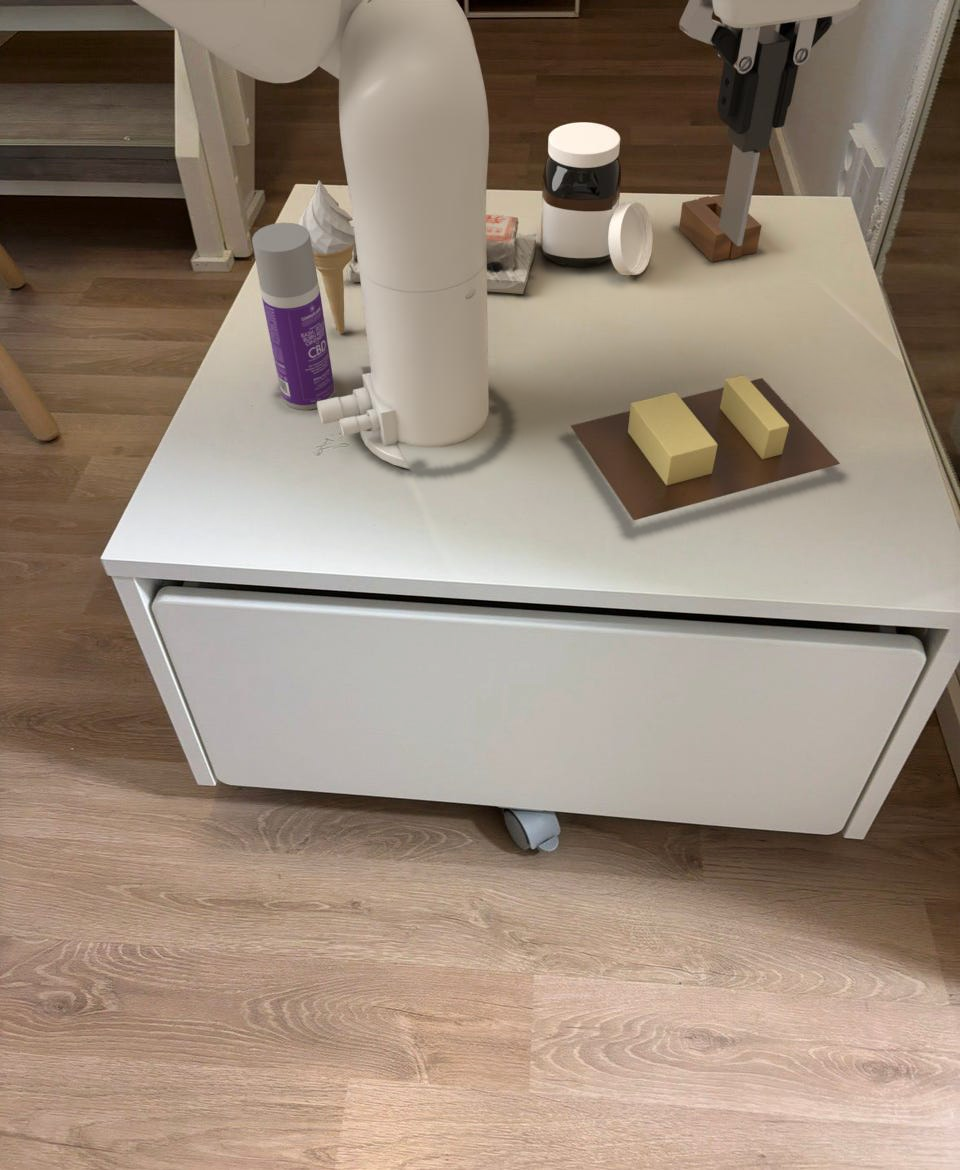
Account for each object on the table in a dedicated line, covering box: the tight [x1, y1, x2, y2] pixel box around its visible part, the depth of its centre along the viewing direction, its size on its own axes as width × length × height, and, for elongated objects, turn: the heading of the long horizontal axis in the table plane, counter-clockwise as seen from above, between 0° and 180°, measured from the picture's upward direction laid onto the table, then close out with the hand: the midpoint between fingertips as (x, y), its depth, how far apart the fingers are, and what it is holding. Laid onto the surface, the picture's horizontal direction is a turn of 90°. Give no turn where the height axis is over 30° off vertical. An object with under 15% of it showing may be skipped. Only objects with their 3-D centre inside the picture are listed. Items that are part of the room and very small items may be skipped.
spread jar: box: [540, 121, 654, 276], centre depth 101 cm, size 12×11×12 cm
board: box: [570, 377, 841, 521], centre depth 83 cm, size 18×12×2 cm, turn 110°
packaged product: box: [346, 213, 538, 295], centre depth 103 cm, size 18×5×10 cm
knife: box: [719, 27, 790, 246], centre depth 71 cm, size 2×3×14 cm, turn 18°
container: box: [251, 222, 336, 411], centre depth 85 cm, size 5×5×15 cm
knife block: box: [678, 193, 763, 263], centre depth 106 cm, size 5×8×3 cm
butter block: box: [628, 391, 718, 485], centre depth 81 cm, size 4×7×3 cm, turn 20°
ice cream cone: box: [296, 179, 356, 335], centre depth 91 cm, size 6×6×15 cm
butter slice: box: [720, 374, 789, 459], centre depth 82 cm, size 2×7×3 cm, turn 20°
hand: (750, 120), depth 70 cm, fingers closed on knife, 2 cm apart
